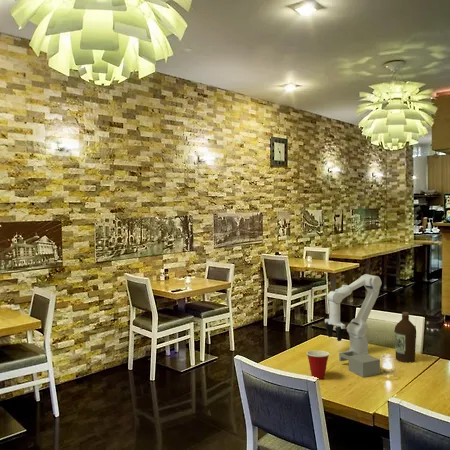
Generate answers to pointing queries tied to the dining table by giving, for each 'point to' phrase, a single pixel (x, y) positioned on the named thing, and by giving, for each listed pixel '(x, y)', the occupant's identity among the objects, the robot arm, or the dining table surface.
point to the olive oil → (405, 339)
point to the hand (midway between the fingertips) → (334, 338)
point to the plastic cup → (318, 363)
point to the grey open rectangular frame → (361, 363)
